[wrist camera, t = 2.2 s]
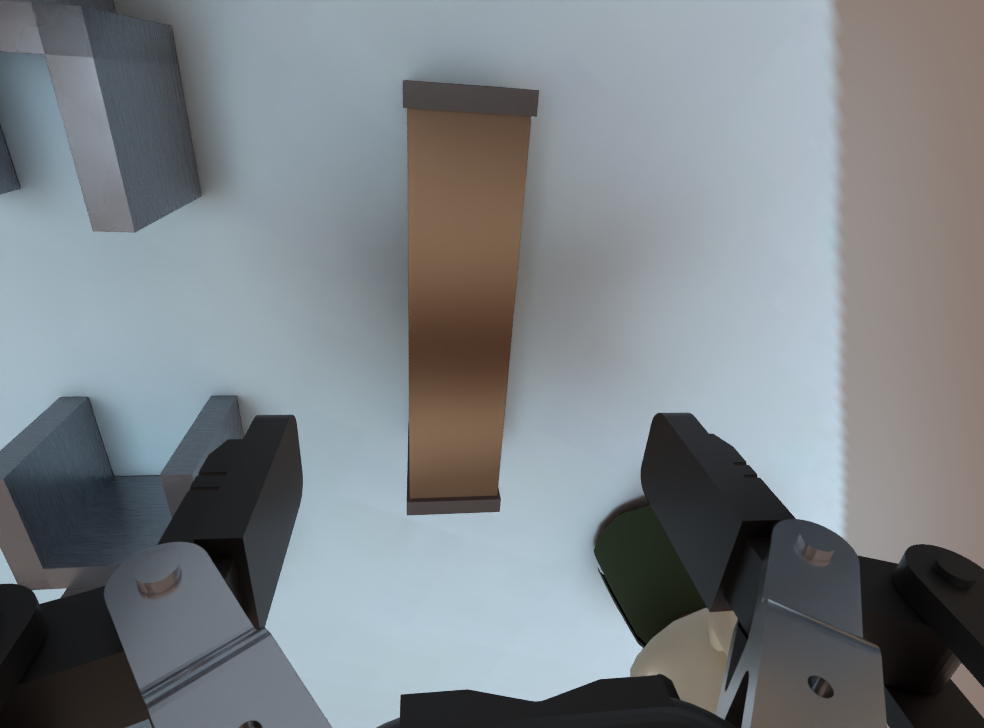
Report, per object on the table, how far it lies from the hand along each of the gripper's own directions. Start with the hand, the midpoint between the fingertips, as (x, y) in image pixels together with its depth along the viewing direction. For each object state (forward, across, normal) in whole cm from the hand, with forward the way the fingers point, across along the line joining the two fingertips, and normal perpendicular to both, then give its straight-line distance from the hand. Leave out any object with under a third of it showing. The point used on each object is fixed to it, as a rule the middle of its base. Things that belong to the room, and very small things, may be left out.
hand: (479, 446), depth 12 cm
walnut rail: (+10, 0, 0) cm, 10 cm away
